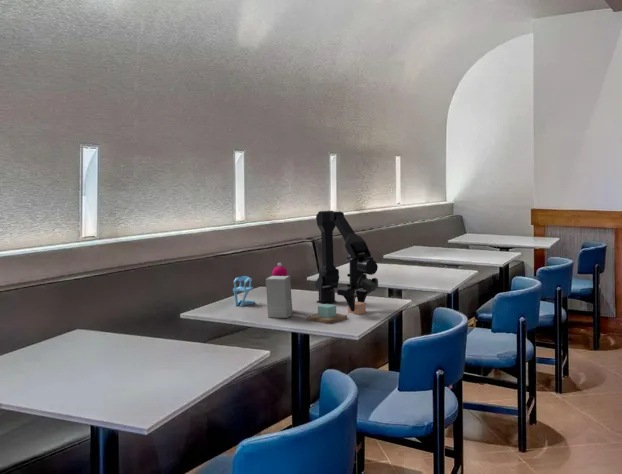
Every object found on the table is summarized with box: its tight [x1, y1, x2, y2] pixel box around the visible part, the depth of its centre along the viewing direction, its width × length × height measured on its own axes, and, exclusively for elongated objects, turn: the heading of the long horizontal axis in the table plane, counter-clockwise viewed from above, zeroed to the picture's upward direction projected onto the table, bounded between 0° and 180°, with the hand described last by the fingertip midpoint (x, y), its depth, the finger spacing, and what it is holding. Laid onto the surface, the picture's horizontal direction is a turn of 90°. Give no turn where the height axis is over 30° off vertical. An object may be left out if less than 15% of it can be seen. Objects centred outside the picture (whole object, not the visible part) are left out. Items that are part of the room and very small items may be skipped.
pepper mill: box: [271, 262, 288, 276], centre depth 244 cm, size 7×7×20 cm
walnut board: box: [306, 312, 348, 325], centre depth 231 cm, size 11×11×1 cm
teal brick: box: [317, 303, 337, 318], centre depth 230 cm, size 5×5×4 cm
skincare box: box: [265, 275, 293, 319], centre depth 235 cm, size 8×7×16 cm
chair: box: [232, 275, 256, 307], centre depth 259 cm, size 8×8×12 cm
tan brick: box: [347, 300, 367, 315], centre depth 241 cm, size 5×5×4 cm
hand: (356, 309), depth 241 cm, fingers open, 5 cm apart
